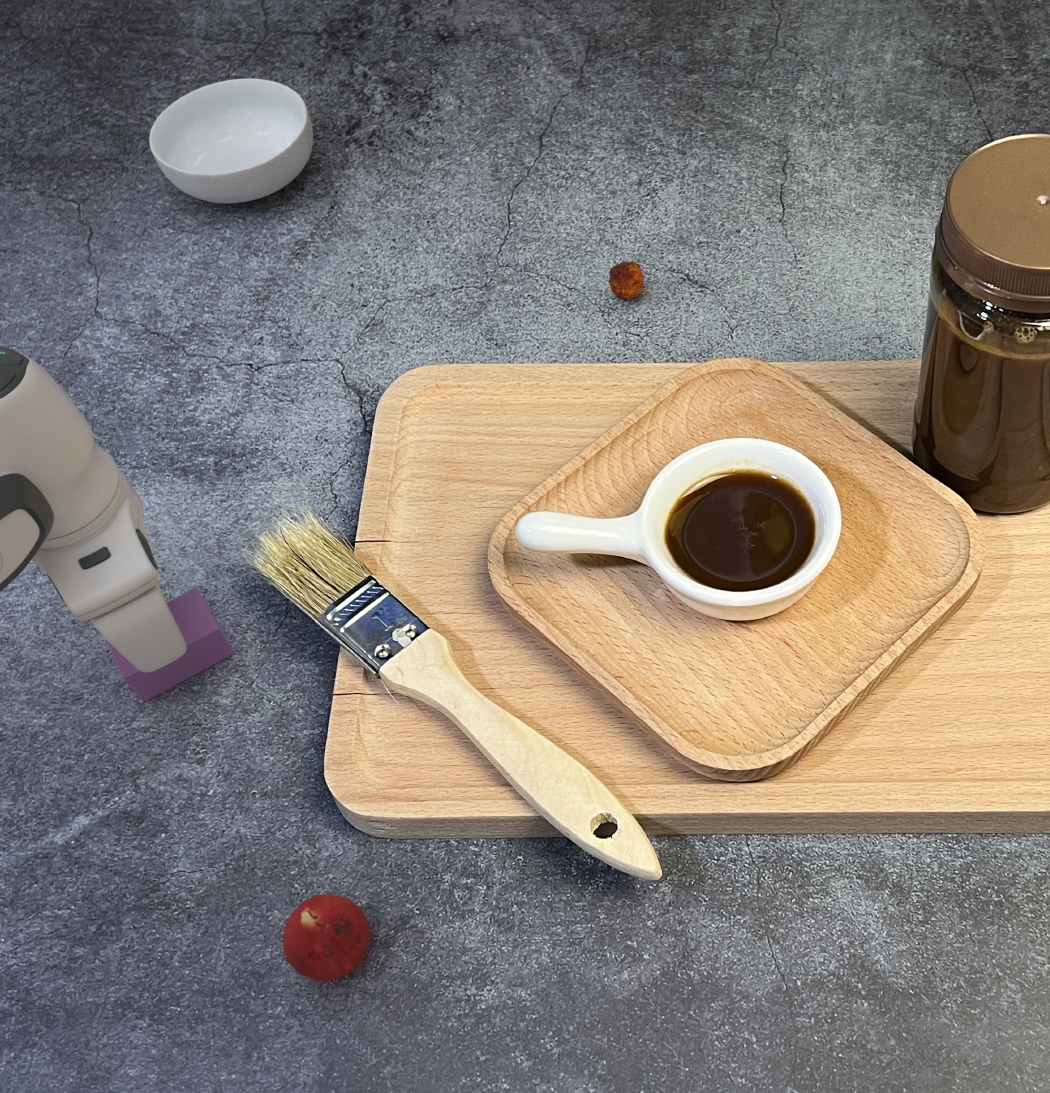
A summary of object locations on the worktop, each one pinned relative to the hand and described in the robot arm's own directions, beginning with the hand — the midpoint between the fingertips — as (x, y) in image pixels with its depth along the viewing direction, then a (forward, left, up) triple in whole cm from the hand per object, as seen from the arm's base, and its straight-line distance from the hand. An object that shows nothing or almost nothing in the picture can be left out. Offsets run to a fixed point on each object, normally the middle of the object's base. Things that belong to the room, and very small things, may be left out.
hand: (151, 610), depth 109 cm
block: (+1, -4, -2) cm, 5 cm away
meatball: (+51, +18, -2) cm, 54 cm away
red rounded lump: (+6, -34, -2) cm, 35 cm away
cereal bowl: (+21, +55, -2) cm, 59 cm away
